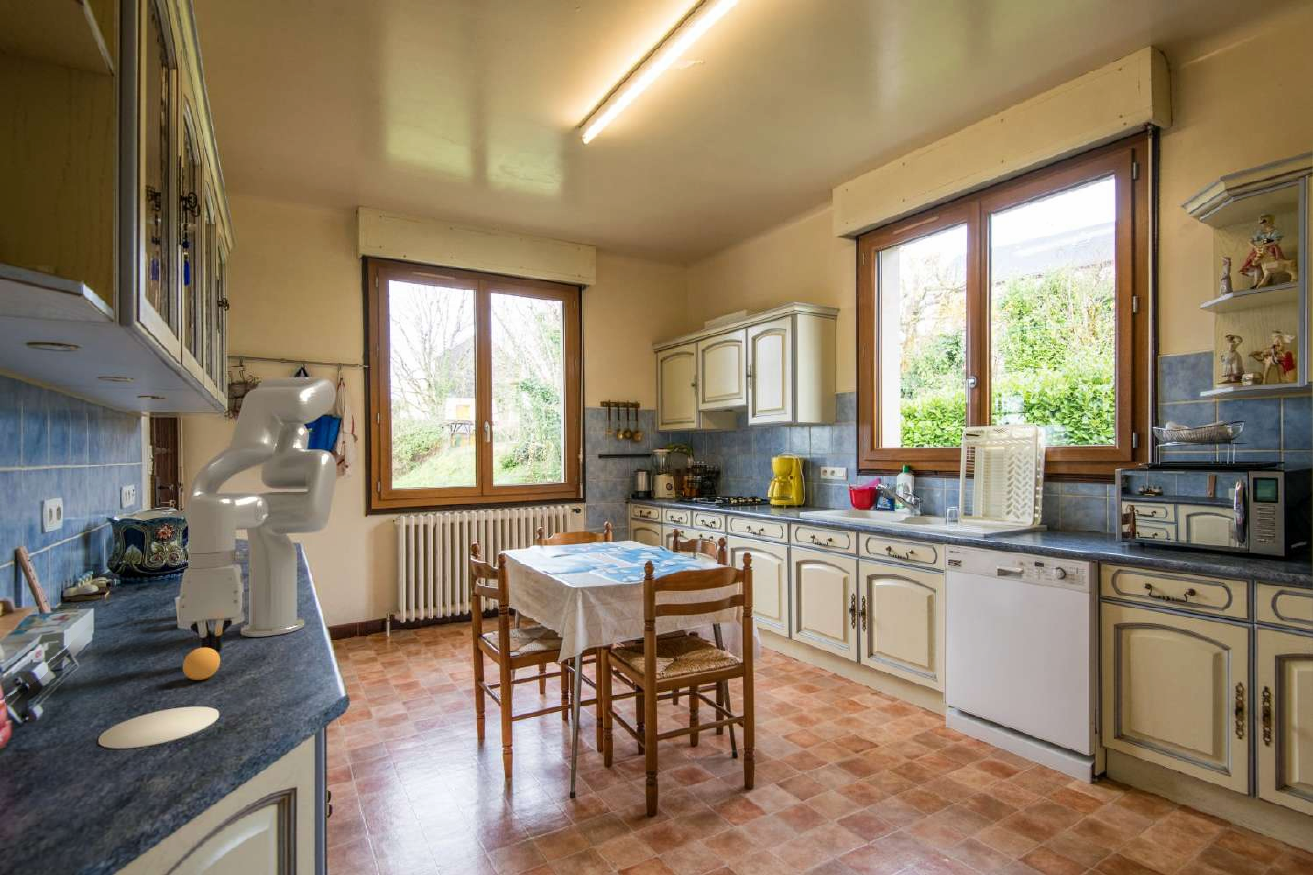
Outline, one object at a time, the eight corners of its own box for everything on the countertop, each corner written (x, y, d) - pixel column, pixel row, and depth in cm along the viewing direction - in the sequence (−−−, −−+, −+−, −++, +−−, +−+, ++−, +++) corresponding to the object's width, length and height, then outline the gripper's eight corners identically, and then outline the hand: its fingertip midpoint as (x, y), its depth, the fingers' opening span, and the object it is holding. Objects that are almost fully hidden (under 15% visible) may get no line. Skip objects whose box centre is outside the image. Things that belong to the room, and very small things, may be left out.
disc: (117, 718, 97) (117, 717, 97) (226, 701, 103) (226, 700, 103) (82, 757, 84) (82, 755, 84) (209, 735, 90) (209, 733, 90)
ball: (186, 676, 115) (186, 646, 115) (222, 671, 118) (222, 641, 118) (179, 686, 110) (179, 654, 110) (217, 681, 113) (217, 650, 113)
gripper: (260, 554, 130) (259, 645, 129) (169, 561, 123) (169, 656, 123) (254, 559, 123) (254, 655, 122) (159, 566, 116) (158, 667, 116)
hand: (212, 655), depth 123 cm, fingers closed
